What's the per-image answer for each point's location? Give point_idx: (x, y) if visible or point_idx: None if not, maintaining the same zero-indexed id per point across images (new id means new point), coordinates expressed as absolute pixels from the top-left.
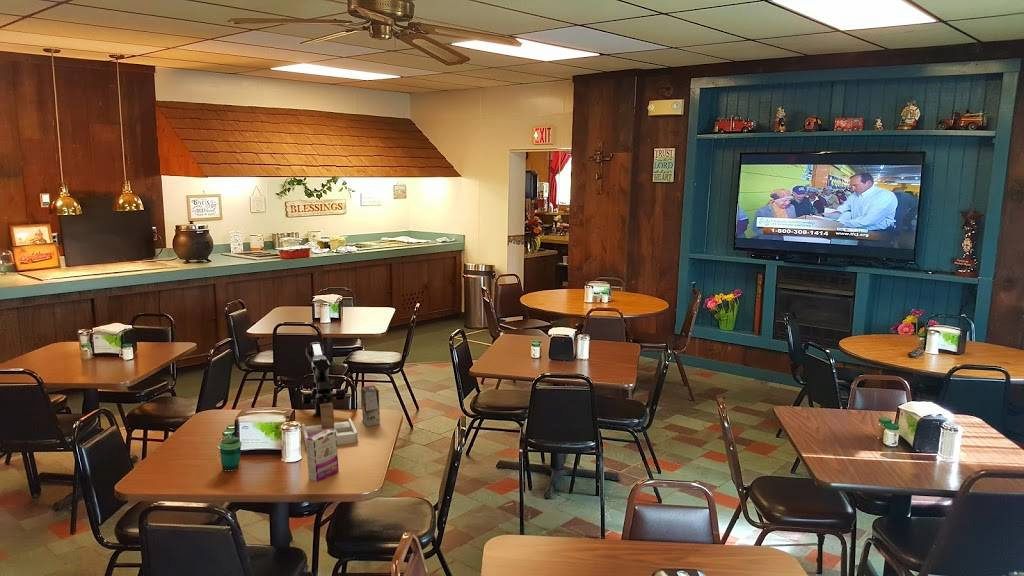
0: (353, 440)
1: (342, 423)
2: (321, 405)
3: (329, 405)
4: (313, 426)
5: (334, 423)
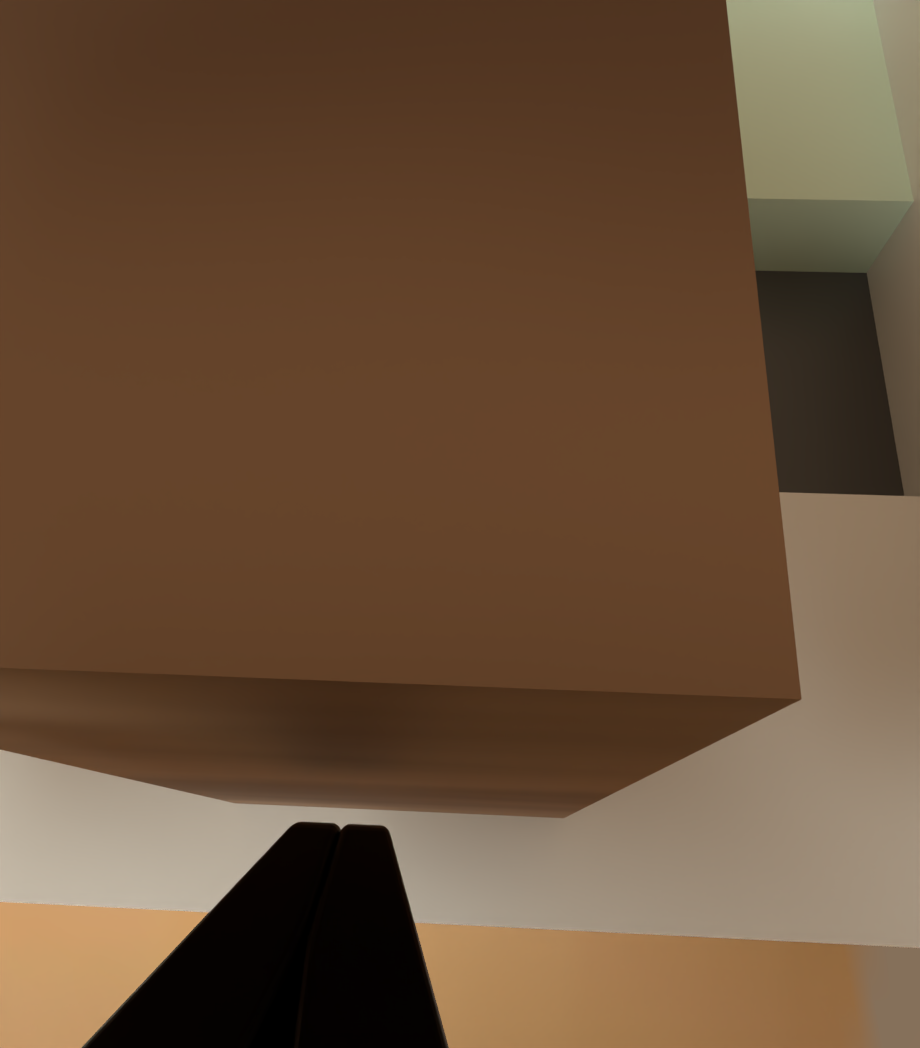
0: None
1: None
2: (682, 259)
3: (78, 58)
4: (793, 871)
5: (171, 871)
